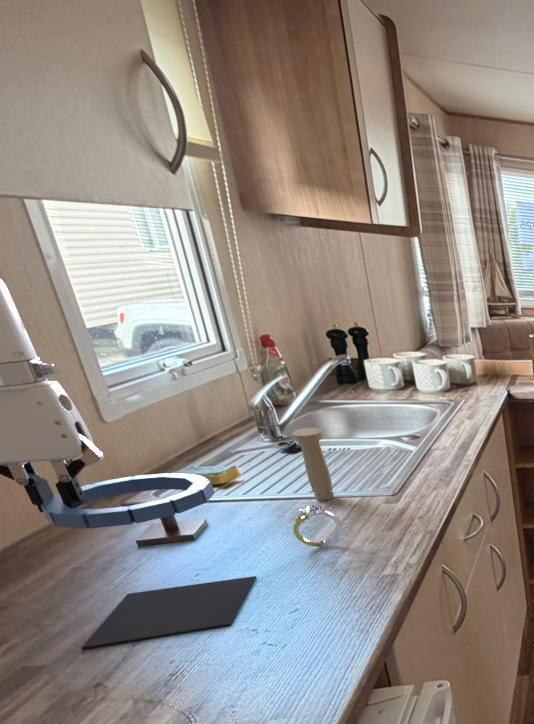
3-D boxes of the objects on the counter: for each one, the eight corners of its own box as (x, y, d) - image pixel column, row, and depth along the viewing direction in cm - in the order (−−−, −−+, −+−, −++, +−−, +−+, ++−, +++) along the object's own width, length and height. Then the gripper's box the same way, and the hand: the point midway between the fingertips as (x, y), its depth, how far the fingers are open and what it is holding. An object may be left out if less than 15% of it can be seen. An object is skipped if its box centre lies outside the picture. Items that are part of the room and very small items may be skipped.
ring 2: (298, 553, 115) (286, 512, 112) (301, 546, 118) (289, 506, 114) (345, 546, 118) (334, 507, 115) (346, 540, 121) (335, 501, 118)
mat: (82, 650, 87) (81, 647, 87) (128, 595, 100) (127, 593, 100) (231, 625, 94) (230, 623, 94) (256, 578, 107) (255, 575, 106)
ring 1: (22, 536, 82) (15, 521, 81) (81, 492, 96) (76, 480, 95) (193, 517, 89) (188, 504, 88) (226, 480, 103) (222, 468, 102)
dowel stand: (137, 546, 114) (126, 521, 112) (153, 529, 121) (143, 505, 119) (195, 540, 118) (185, 515, 116) (208, 523, 124) (199, 500, 122)
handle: (310, 505, 135) (291, 436, 129) (312, 495, 140) (293, 429, 133) (338, 502, 137) (320, 434, 131) (339, 492, 142) (321, 426, 136)
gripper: (97, 367, 88) (148, 491, 95) (-73, 371, 81) (-4, 505, 89) (72, 377, 82) (128, 509, 89) (-114, 383, 75) (-36, 525, 83)
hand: (62, 506), depth 89 cm, fingers closed on ring 1, 2 cm apart
